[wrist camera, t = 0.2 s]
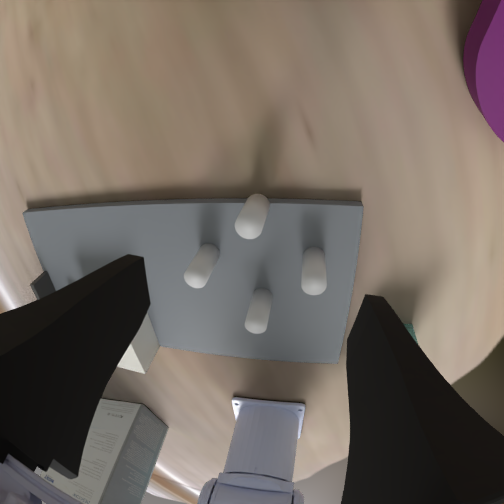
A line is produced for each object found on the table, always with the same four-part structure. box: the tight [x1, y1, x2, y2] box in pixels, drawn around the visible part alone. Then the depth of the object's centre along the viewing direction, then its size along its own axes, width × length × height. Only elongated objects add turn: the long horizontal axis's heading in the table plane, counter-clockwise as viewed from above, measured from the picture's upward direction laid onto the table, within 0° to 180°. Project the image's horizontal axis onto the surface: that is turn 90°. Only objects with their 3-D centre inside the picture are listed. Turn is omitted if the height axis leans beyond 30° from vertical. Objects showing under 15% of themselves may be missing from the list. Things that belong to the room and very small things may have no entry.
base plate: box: [23, 194, 364, 364], centre depth 21 cm, size 15×28×4 cm, turn 94°
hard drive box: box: [40, 398, 168, 504], centre depth 32 cm, size 16×8×20 cm, turn 110°
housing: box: [117, 313, 160, 374], centre depth 23 cm, size 7×6×4 cm
